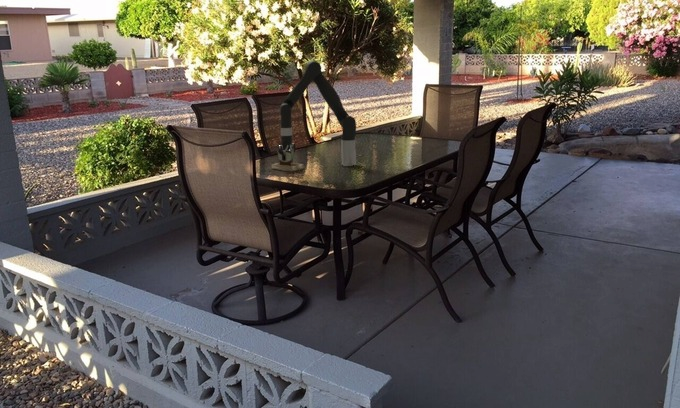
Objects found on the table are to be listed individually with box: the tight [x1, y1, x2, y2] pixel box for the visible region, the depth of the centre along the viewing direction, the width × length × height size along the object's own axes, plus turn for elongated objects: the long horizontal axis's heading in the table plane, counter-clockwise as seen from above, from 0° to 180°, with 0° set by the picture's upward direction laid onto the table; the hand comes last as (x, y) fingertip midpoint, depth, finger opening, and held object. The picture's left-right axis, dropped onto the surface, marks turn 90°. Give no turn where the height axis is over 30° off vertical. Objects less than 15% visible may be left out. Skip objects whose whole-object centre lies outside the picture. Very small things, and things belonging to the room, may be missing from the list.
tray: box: [271, 162, 305, 172], centre depth 388 cm, size 12×18×3 cm, turn 51°
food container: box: [276, 149, 295, 166], centre depth 387 cm, size 12×6×10 cm, turn 59°
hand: (287, 159), depth 387 cm, fingers closed on food container, 6 cm apart
